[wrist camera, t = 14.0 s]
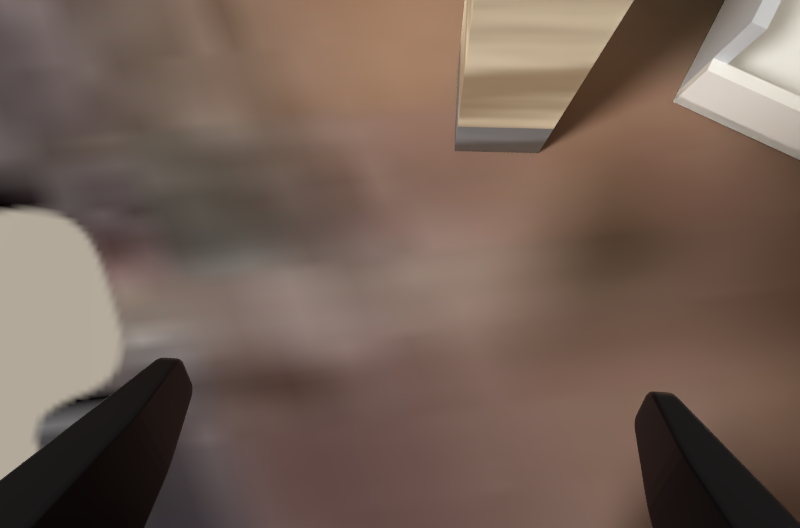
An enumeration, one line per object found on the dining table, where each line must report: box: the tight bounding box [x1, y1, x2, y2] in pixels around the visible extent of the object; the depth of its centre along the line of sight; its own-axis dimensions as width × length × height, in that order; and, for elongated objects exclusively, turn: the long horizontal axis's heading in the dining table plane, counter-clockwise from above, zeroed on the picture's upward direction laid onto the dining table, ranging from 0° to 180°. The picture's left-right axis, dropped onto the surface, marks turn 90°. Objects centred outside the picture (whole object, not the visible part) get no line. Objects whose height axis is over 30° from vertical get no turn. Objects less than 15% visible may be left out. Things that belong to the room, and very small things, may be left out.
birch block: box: [455, 0, 634, 153], centre depth 18 cm, size 4×4×13 cm
